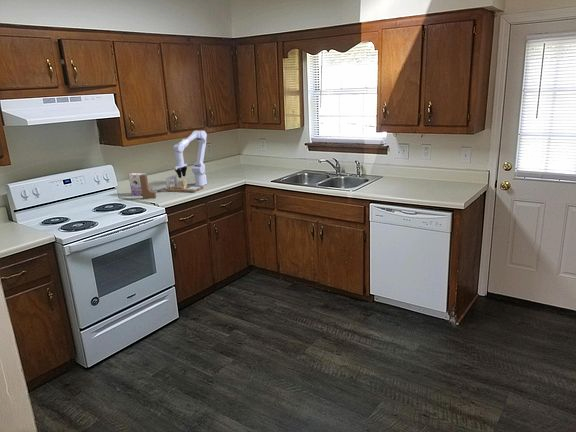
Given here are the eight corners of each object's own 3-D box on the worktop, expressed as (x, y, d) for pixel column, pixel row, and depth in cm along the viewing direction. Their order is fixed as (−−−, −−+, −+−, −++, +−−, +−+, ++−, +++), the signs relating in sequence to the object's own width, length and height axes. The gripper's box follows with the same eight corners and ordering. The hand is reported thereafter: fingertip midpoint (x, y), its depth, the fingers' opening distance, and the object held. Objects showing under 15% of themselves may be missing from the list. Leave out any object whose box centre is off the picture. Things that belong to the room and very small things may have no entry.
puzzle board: (175, 187, 369) (175, 185, 369) (203, 188, 359) (203, 186, 359) (164, 191, 357) (164, 189, 356) (193, 192, 347) (193, 190, 346)
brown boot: (156, 196, 341) (152, 173, 336) (155, 198, 337) (151, 174, 332) (144, 197, 341) (140, 174, 335) (143, 199, 336) (139, 175, 331)
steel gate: (175, 185, 367) (174, 174, 364) (177, 185, 366) (176, 175, 364) (166, 188, 356) (165, 178, 354) (169, 188, 356) (167, 178, 353)
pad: (191, 187, 359) (191, 186, 359) (200, 187, 356) (200, 187, 356) (186, 189, 352) (185, 189, 352) (194, 189, 349) (194, 189, 349)
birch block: (183, 189, 361) (181, 179, 358) (187, 189, 359) (186, 179, 357) (180, 190, 357) (178, 180, 355) (184, 190, 356) (183, 180, 353)
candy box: (149, 194, 352) (146, 173, 347) (143, 195, 347) (140, 174, 342) (137, 192, 358) (134, 172, 354) (131, 194, 354) (128, 173, 349)
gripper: (181, 158, 359) (183, 174, 363) (170, 161, 346) (172, 178, 350) (188, 158, 356) (190, 175, 360) (177, 161, 343) (180, 179, 347)
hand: (182, 177), depth 355 cm, fingers open, 5 cm apart
